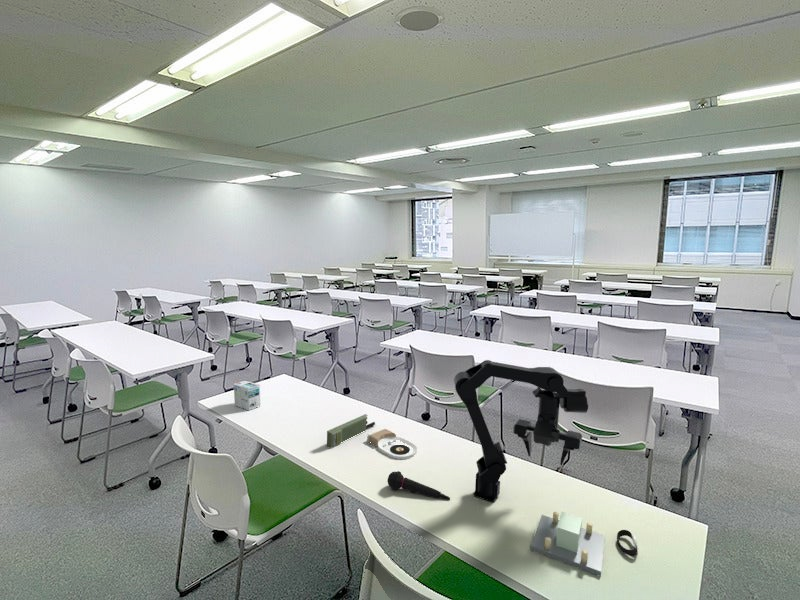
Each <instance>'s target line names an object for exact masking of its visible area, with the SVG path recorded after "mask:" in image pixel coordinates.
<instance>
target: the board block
mask: <svg viewBox="0 0 800 600" xmlns="http://www.w3.org/2000/svg"><path fill="white" fill-rule="evenodd" d="M559 516H560V517H559V519H558V520H559V523H558V527H557V539H556V546H559V547H562V548H565V549H567V550H570V551H573V552H576V553H578V547H579V542H580V537H581V528H583V527H582V525H583V518H582V517H579V516H576V515H573V514H570V513H567V512H563V511H561V513H560V515H559Z"/></svg>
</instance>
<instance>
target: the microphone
mask: <svg viewBox="0 0 800 600" xmlns="http://www.w3.org/2000/svg"><path fill="white" fill-rule="evenodd" d="M387 485H388V487H390V488H391V489H392V490H393V491H397V490H400V489H402V490H406V491H408V492H410V493H411V494H419V495H422V496H423V495H424V496H427V497H430V498H435V499H444V500H449V501H450V500H451V497H449V496H448V495H446V494H444V493H442V492H441V491H439V490H437V489H435V488H433V487H430V486H428V485H425V484H423V483H420V482H418V481H415V480H412V479H410V478H408V477H404V475H403V474H402V472H401V471H399V470H397V471H391V472H390V473H389V475H388V477H387Z"/></svg>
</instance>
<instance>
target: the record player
mask: <svg viewBox="0 0 800 600" xmlns="http://www.w3.org/2000/svg"><path fill="white" fill-rule="evenodd" d="M390 440H393V441H392V442H390ZM396 440H400V442H401V441H402V442H403V443H404V444H405V443H406V444H407V445H409V446H411V447H412V448H413V453H412V454H410V453H409V451H410V448H409V447H407V446H405V445H394V443H393V442H396ZM366 441H367V442H368V441H369V442H368V443H370V442H371V443H370V444H372V445H373V444H374V445H373V446H375V445H376V447H377V446H378V447H377V450H378V451H379V452H381V451H382V452H381V453H383V452H384V453H385V454H384V453H383V454H384V455H386V454H387V455H386V456H387V457H389V458H392V457H393V458H392V459H395V458H396V459H395V460H406V459H407V458H408V459H411V458H413V457H415V456H416V455H417V453H418V448H417V445H416V444H414V443H412V442H411V441H409V440H407V439H405V438H402V437H399V436H397V435H396V433H395V432H393V431H391V430H389V429H387V428H385V427H383V428H380V429H377V430H375V431H373V432H371V433H368V434H367V437H366ZM386 441H389V442H387V443H388V445H386V444H387V443H384V442H386ZM392 443H393V444H392ZM407 453H408V455H407ZM415 454H416V455H415ZM414 455H415V456H414Z"/></svg>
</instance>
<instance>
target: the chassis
mask: <svg viewBox="0 0 800 600" xmlns="http://www.w3.org/2000/svg"><path fill="white" fill-rule="evenodd" d="M559 516H560V514H559V513H558V512H557V511H554V512H553V513H552V517H550V516H547V515H544V514H541V516H540V519H539V522H538V525H537V527H536V530H535V533H534V536H533V539H532V541H531V545H530V551H532V552H534V553H536V554H540V555H543V556H546V557H548V558H550V559H553V560H556V561H558V562H560V563H561V562H562V563H564V564H566V565H569V566H572V567H574V568H577V569H579V570H580V569H581V570H583V571H585V572H588V573H590V574H594V575H597V576H598V577H601V576H602V568H603V562H604V561H603V560H604V550H605V543H606V534H602V533H599V532H596V531H594V530H593V526H594V525H593V524H592V523H591V522H586V527H581V537H580V542H579V547H578V553H576V552H573V551H570V550H567V549H565V548H562V547H559V546H556V539H557V527H558V523H559V520H560V519H559V518H560V517H559Z"/></svg>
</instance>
